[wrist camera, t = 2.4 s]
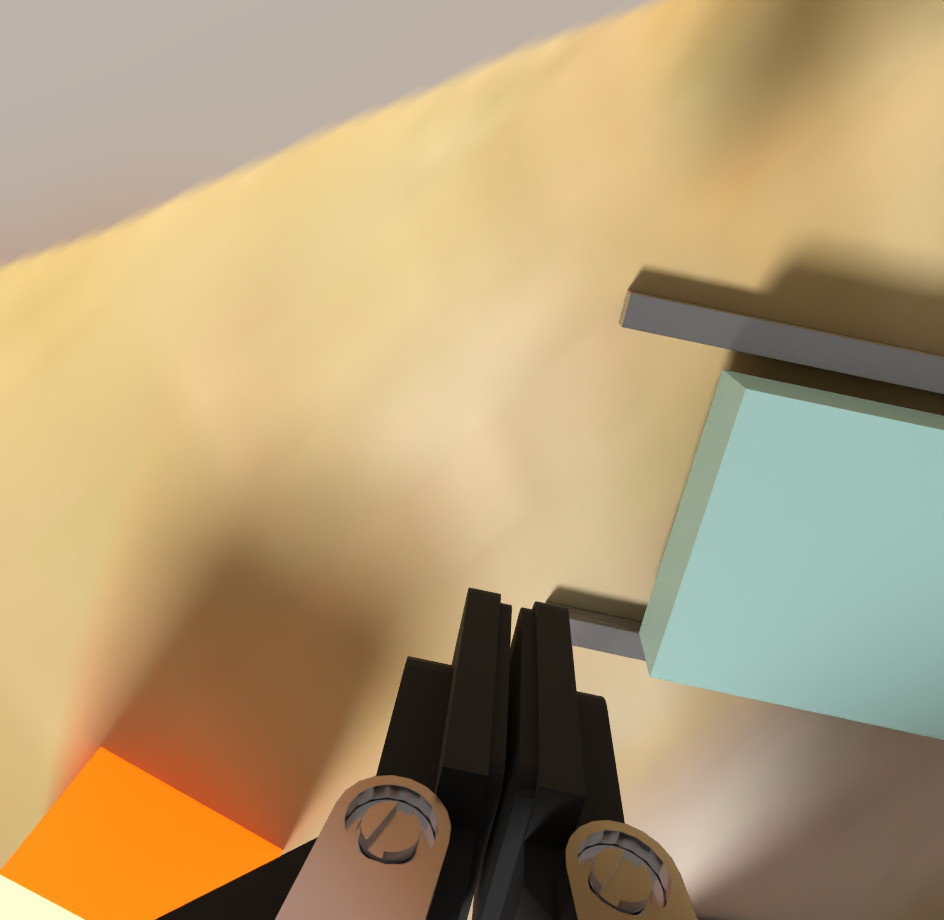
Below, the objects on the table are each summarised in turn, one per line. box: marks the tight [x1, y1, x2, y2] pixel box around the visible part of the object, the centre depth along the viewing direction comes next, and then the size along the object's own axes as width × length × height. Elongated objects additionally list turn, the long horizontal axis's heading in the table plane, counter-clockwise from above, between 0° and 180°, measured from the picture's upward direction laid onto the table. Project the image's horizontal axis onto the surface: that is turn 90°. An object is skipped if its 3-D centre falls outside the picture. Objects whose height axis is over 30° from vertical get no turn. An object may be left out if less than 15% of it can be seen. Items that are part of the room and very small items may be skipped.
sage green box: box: [639, 370, 944, 740], centre depth 22 cm, size 9×11×4 cm
